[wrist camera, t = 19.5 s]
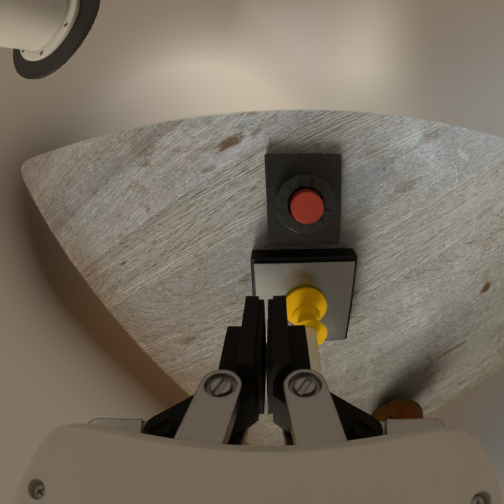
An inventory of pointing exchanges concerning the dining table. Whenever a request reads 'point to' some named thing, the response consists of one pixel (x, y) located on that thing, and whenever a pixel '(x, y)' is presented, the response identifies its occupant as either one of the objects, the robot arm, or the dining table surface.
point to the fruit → (398, 410)
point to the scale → (309, 280)
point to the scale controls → (296, 178)
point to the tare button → (306, 206)
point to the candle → (309, 319)
